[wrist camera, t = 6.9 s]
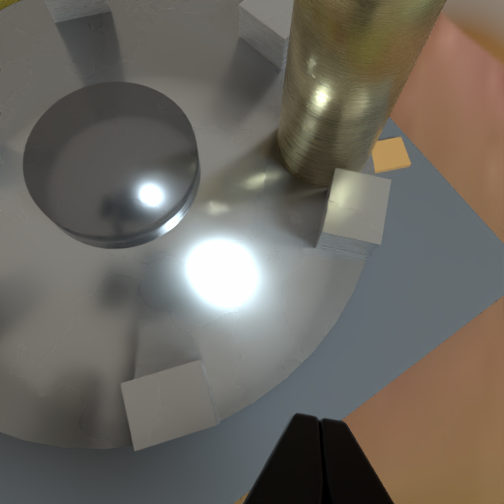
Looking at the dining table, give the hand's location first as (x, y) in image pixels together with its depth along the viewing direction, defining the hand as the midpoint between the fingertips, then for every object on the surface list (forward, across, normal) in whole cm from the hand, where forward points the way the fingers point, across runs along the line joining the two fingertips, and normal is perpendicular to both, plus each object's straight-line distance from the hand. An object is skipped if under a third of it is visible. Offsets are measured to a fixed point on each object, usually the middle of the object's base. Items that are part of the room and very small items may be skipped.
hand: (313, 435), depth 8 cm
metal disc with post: (+10, +6, +1) cm, 12 cm away
